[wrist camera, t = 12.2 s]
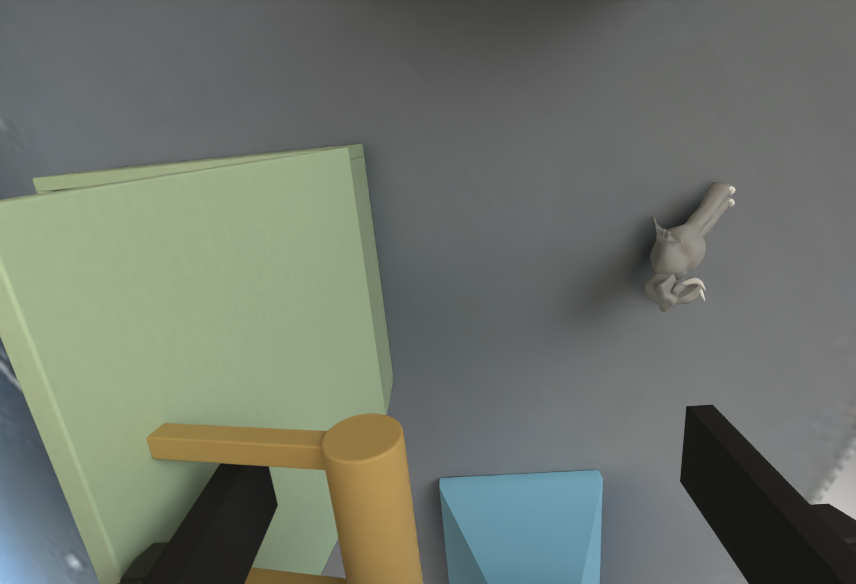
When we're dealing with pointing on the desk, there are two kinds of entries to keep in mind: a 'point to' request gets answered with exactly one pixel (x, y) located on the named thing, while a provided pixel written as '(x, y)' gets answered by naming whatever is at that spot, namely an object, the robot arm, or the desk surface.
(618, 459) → the desk surface
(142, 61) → the desk surface
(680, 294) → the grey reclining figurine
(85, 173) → the chest
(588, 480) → the planter
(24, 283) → the lid
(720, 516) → the robot arm
